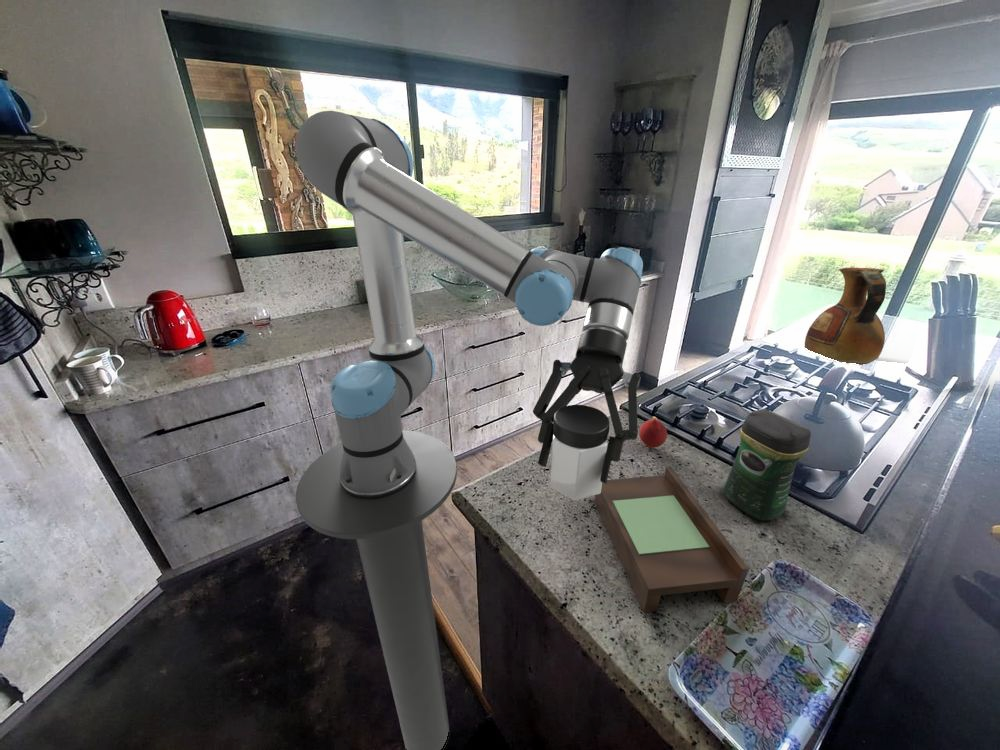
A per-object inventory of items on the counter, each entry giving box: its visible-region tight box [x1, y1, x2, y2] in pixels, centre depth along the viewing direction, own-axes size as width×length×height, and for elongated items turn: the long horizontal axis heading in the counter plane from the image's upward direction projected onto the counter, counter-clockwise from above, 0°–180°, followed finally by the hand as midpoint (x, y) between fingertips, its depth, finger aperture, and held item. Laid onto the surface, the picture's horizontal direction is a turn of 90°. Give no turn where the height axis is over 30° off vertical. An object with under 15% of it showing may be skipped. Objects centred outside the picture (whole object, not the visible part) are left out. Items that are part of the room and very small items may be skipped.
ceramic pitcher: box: [804, 266, 887, 366], centre depth 127 cm, size 20×20×30 cm
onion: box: [638, 416, 668, 449], centre depth 90 cm, size 6×6×8 cm
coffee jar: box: [722, 408, 812, 522], centre depth 71 cm, size 10×8×19 cm
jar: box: [549, 404, 610, 502], centre depth 62 cm, size 9×8×12 cm
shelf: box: [594, 466, 750, 613], centre depth 66 cm, size 22×14×7 cm, turn 6°
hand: (571, 473), depth 60 cm, fingers closed on jar, 9 cm apart
